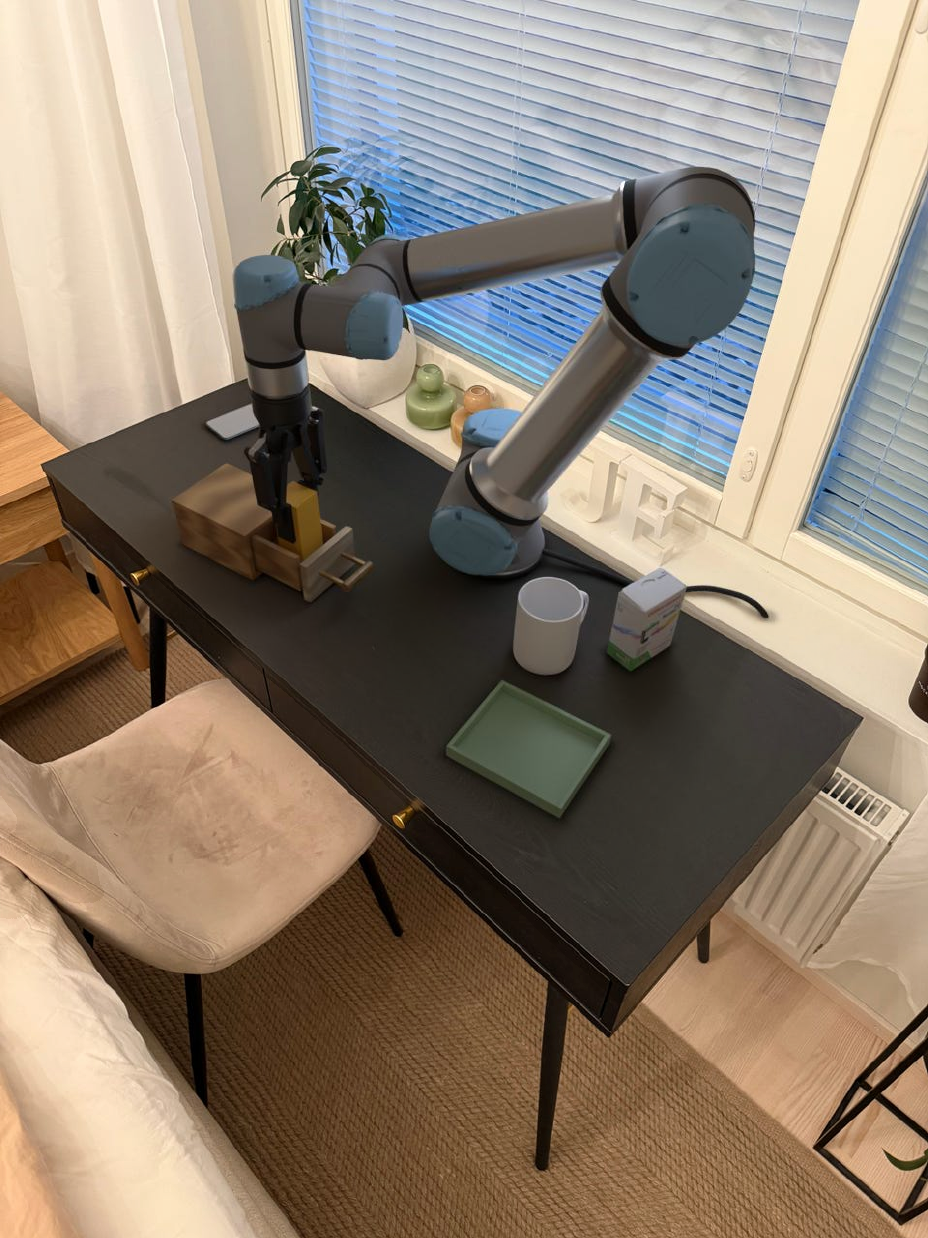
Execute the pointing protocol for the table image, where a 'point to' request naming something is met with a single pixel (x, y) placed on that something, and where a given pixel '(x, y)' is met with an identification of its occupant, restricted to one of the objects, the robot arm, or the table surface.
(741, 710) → the table surface
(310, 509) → the block
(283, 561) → the drawer
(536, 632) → the mug
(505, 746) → the tray
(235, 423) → the smartphone
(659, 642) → the ink box
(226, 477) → the cabinet
